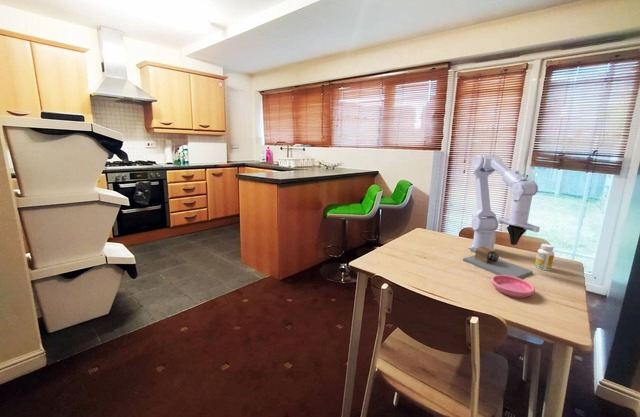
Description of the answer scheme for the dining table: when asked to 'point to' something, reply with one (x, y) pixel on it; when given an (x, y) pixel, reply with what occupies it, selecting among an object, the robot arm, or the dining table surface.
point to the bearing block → (484, 254)
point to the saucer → (512, 286)
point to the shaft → (493, 256)
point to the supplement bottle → (545, 257)
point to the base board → (500, 267)
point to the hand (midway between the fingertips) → (513, 244)
